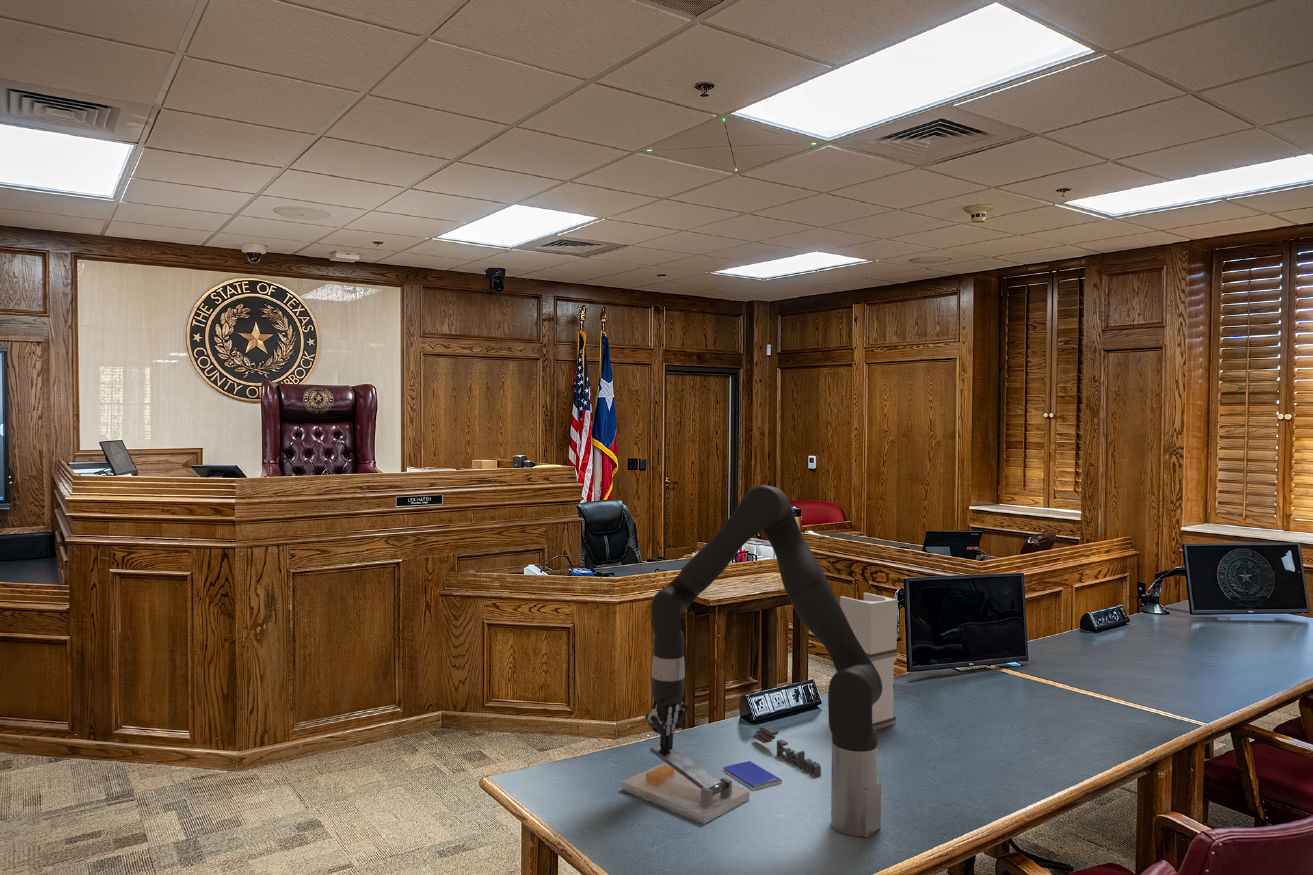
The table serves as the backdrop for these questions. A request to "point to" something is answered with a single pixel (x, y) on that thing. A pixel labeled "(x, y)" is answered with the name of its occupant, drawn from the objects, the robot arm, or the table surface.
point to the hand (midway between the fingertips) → (666, 749)
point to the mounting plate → (684, 793)
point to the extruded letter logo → (788, 752)
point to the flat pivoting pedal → (689, 769)
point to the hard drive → (752, 775)
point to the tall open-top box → (876, 645)
